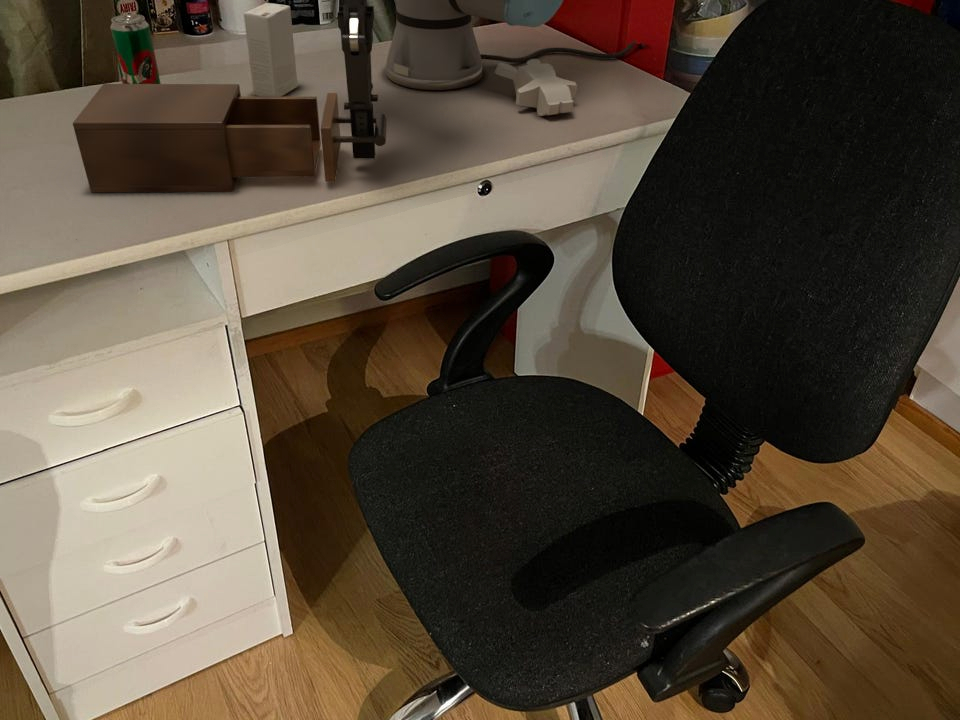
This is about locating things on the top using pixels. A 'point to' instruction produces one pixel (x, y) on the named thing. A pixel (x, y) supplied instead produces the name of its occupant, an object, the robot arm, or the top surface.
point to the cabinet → (157, 138)
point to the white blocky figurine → (540, 87)
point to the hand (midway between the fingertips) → (364, 156)
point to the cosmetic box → (271, 49)
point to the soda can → (134, 49)
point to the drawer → (288, 136)
